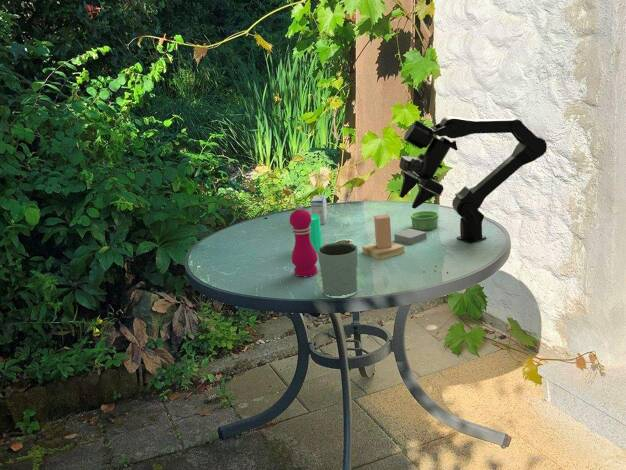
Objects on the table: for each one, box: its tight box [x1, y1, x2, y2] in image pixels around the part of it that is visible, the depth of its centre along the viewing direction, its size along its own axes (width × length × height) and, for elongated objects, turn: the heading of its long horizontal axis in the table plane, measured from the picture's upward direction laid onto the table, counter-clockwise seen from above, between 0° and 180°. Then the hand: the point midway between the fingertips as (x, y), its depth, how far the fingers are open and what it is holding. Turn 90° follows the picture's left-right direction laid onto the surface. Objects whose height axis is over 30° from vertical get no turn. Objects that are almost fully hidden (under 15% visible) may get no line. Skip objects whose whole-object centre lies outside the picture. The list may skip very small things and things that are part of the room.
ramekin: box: [410, 210, 439, 231], centre depth 221 cm, size 9×9×4 cm
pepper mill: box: [289, 203, 319, 277], centre depth 187 cm, size 7×7×20 cm
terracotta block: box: [373, 213, 392, 249], centre depth 199 cm, size 4×4×9 cm
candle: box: [308, 211, 323, 253], centre depth 208 cm, size 6×6×12 cm
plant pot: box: [317, 242, 358, 296], centre depth 172 cm, size 10×10×12 cm
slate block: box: [393, 228, 428, 245], centre depth 210 cm, size 7×7×2 cm
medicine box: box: [310, 194, 328, 225], centre depth 238 cm, size 8×4×9 cm, turn 172°
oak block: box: [361, 240, 406, 260], centre depth 201 cm, size 9×9×2 cm
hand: (406, 202), depth 201 cm, fingers open, 9 cm apart
